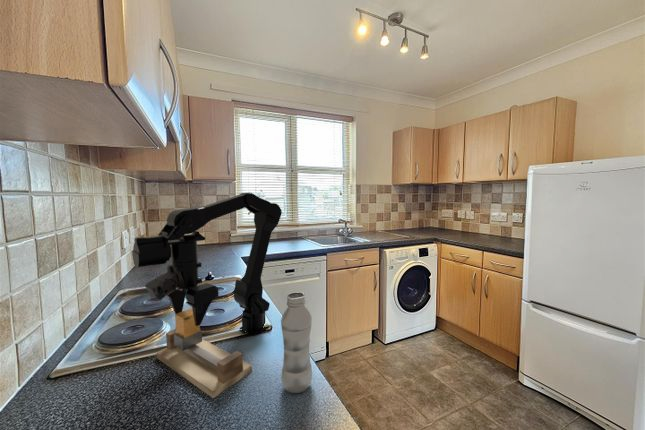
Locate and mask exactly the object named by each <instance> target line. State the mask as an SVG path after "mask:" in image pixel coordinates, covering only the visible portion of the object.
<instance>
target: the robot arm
mask: <svg viewBox="0 0 645 430" xmlns="http://www.w3.org/2000/svg"><path fill="white" fill-rule="evenodd" d="M242 209H246V210H247V211H248V212H250V213H252V214H253V222H254V227H255V231H254V236H253V240H252V242H251V243H252V244H251V248H250V252H249V256H248V260H247V264H246V269H245V271H244V272H245V273H244V275H243V276H242V277H241V279H240V280H239V279H235V284H234V289H233V290H232V294H233V300H234V301H235V302H236V303H237V304H238V306H239V307H240V308H242V309H243V310H242V316H241V326H240V327H239V330H240V329H242V330H243V332H244V331H246V332H245V333H246V334H249V335H251V336H255V335H257V334H258V333H260V332H262V331H264V330H266V329H267V328H266V327H264V328H263V326H264V324H265V323H266V312H268V311H269V309H270V302H269V301H267V300H266V299H265V298H263V292H264V291H263V290H264V287H263V283H262V274H263V270H264V267H265V266H264V265H265V261H266V257H267V253H268V250H269V244H270V242H271V241H270V239H271V236H272V233H273V231H274V230H275V229H276V227H277V226H278V225H279V222H280V220H281V217H282V209H281V207H280V205H279V204H278V203H275V202H271V201H269V200H266V199H264V198H262V197H259V196H258V195H256V194H254V193H253V192H241V193H239V194H237V195H234V196H231V197H228V198H224V199H221V200H218V201H214V202H213V203H209V204H206V205H203V206H196V207H188V208H180V209H174V210H172V211H171V212H169V213H168V216H167V218H166V223H165V225H163V227H162V228H161V230H160V231H159V233H158V234H157V235H154V236H145V237H144V236H137V237H134V243H133V248H132V251H131V253H132V261H133V264H134V267H135V269H141V268H148V267H152V266H159V265H164V264H166V263H167V262H168V261H170V259H171V264H168V266H167V272H165V273H163V274H160V275H159V276H157V277H155V278H154V279H152V280H150V281H149V282H147V283H145V285H144V286H145V288H146V290H147V292H148V294H149V296H150V298H154V299H155V300H157V301H159V300H162V299H164V298H166V297H167V298H168V300H169V302H170V304H171V307H172V310H173V312H174V315H175V314H177V313H180V312H182V311H184V310H183V309H184V305H185V303H186V304H187V305H189V306H190V307H191V309H192V310H193V315H194V321H195V325H196V326H199V325H200V326H201V324H202V322H203V320H204V318H205V316H206V314H207V311H208V309H209V307H210V306H211V303H212V302H213V300H215V299H216V298H218V297H219V296H220V295H219V287H217V286H216V285H214V284H211V283H207V282H206V283H203V278H202V277H199V268H201V267H202V262H200V261H199V260H198V259H199V258H198V242H202V241H206V237H205V236H203V235H202V234H201V233H200V231H199V230H200V229H201V228H203V227H205V226H206V225H207V224H208V223H209V222H210V221H211V222H212V221H213V220H215V219H218V218H220V217H223V216H226V215H229V214H233V213H234V212H237V211H240V210H242ZM185 301H186V302H185ZM265 328H266V329H265ZM242 330H241V331H242Z"/></svg>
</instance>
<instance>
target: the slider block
mask: <svg viewBox="0 0 645 430" xmlns="http://www.w3.org/2000/svg"><path fill="white" fill-rule="evenodd" d="M174 319H175V324H174V325H175V329H176V334H174V346H176V347H177V348H179V349H180V350H182V351H184V350H186V349H188V348H190V347H192V346H194V345H196V344H198V343H200V342H202V339H203V333H202V332H203V331H202V330H201V327H200V326H201V324H200V325H199V326H196V325H195V321H194V315H193V310H192V308H188V309H185V310H182V312H180V313H177V314H175V313H174Z"/></svg>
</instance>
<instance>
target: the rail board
mask: <svg viewBox="0 0 645 430" xmlns="http://www.w3.org/2000/svg"><path fill="white" fill-rule="evenodd" d="M174 334H176V328H175V329H172V330H170V331H168V332H166V335H165V336H166V337H165V338H166V347H165V348H163V349H161V350H159V351H157V352H156V359H157V360H159V361H160V362H162V363H163V364H165V366H167V367H169V368H170V369H171V370H172V371H174V372H175V373H177V374H178V375H180V376H181V377H183V378H184V379H186V380H187V381H188V382H189V383H190V384H193V385H194V386H195V387H197V388H198V389H199V390H201V391H202V392H203V393H205V394H206V395H208V396H209V397H211V398H212V399H214V398H216V397H217V396H219V395H221V394H222V393H223V392H224V391H226V390H228V389H229V388H230V387H231V386H233V385H235V384H236V383H237V382H239V381H241V379H243V378H245V377H246V376H247V375H249V374H250V373H251V372H253V365H252V364H251V363H250V362H247V361H245V360H243V359H244V357H243V356H244V355H243V353H242V352H240V351H238V350H236V351H234V352H232V353H230V352H228V351H226V350H224V349H222V348H220V347H219V346H216V345H214V344H212V343H211V342H209V341H206V340H205V339H203V338H202V342H200V343H198V344H196V345H194V346H192V347H190V348H188V349H186V350H184V351H182V350H180V349H179V348H177V347H176V346H174Z"/></svg>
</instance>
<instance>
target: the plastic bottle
mask: <svg viewBox="0 0 645 430" xmlns="http://www.w3.org/2000/svg"><path fill="white" fill-rule="evenodd" d="M305 297H306V296H305V293H304V292H300V291H295V292H290V293H288V294H287V295H286V306H287V308H286V309H285V310H284V312H283V314H282V315H281V319H280V323H281V324H280V326H281V333H282V338H283V364H282V368H281V376H280V378H281V382H282V383H281V384H282V386H283V388H284V389H285V390H286V391H287V392H288V393H291V394H300V393H302V392H304V391H306V390H307V389H308V388H309V386H310V385H311V384H312V380H313V367H312V363H311V356H310V354H311V353H310V339H311V338H310V336H311V329H312V321H313V319H312V318H313V317H312V314H311V312H310V311H309V309H308V308H307V307H306V306H305V305H306V299H305Z"/></svg>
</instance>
